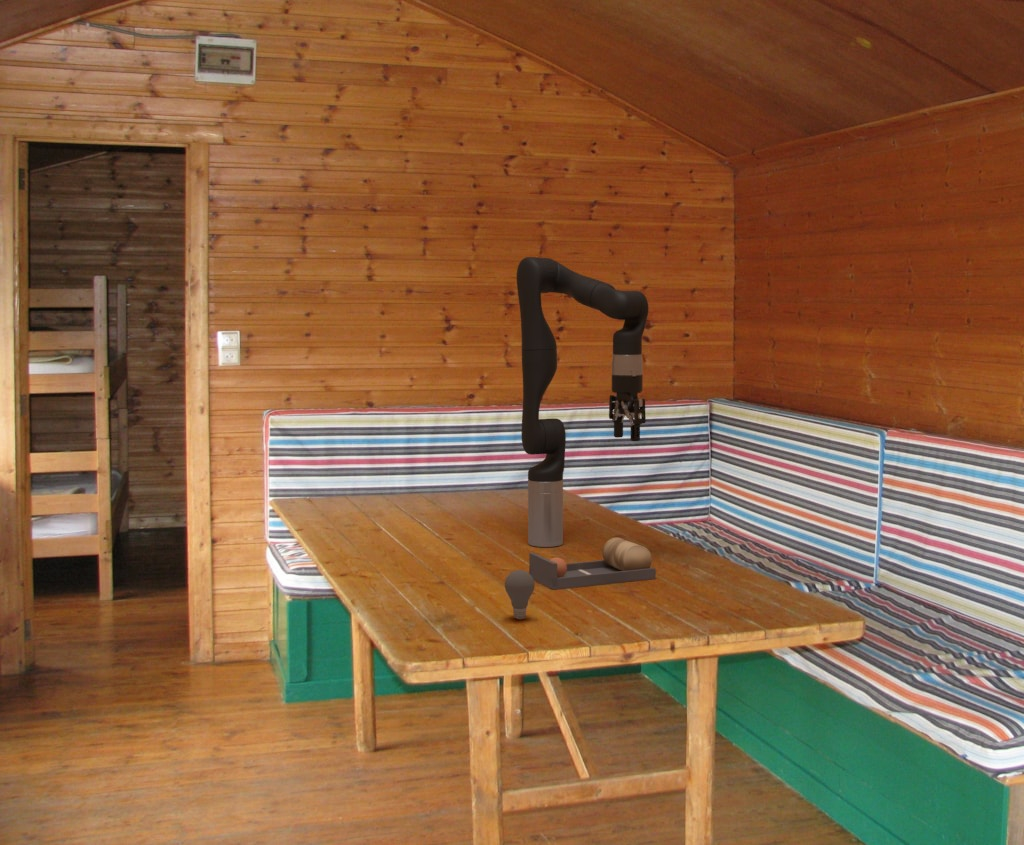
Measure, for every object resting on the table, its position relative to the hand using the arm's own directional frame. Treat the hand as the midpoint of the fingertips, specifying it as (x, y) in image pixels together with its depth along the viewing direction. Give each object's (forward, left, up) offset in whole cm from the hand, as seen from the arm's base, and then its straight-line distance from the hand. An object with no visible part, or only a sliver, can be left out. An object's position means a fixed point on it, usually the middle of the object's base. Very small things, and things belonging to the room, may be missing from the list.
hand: (626, 439), depth 286 cm
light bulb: (+40, -46, -30) cm, 68 cm away
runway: (+14, -16, -30) cm, 37 cm away
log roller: (+14, -8, -30) cm, 34 cm away
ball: (+14, -23, -27) cm, 38 cm away
